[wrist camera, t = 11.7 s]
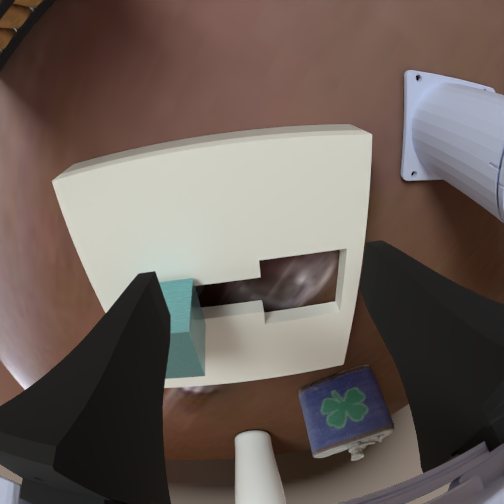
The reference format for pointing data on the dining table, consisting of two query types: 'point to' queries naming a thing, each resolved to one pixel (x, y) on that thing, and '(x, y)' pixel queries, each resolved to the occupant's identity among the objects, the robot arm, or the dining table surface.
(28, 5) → the ammunition clip
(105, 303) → the keyhole plate
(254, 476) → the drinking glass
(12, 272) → the dining table surface
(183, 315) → the peg
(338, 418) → the flask
